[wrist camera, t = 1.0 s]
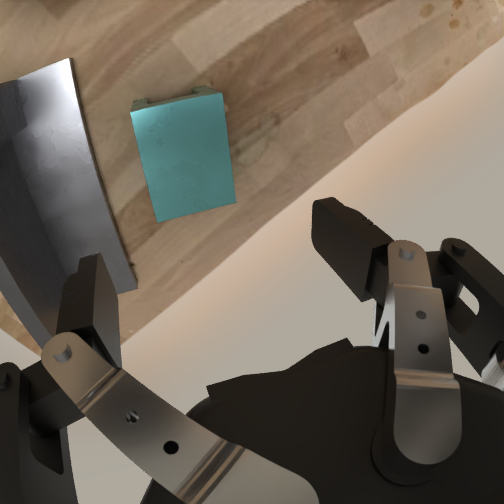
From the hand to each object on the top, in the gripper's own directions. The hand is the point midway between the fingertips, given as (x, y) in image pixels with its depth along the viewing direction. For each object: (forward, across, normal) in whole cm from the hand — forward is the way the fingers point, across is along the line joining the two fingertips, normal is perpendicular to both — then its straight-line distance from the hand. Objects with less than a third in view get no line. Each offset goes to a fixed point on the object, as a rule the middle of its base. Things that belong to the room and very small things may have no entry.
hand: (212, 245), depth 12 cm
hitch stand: (+17, +13, +2) cm, 22 cm away
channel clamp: (+17, -1, 0) cm, 17 cm away
